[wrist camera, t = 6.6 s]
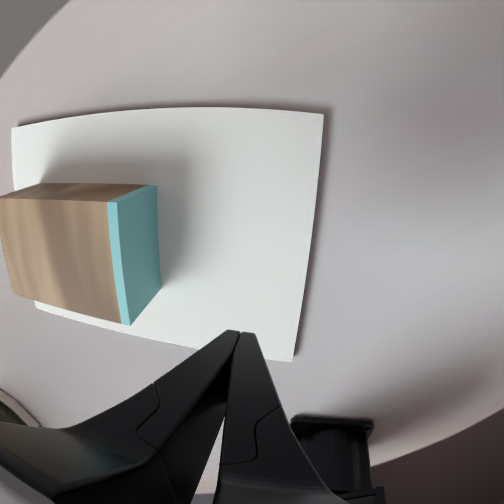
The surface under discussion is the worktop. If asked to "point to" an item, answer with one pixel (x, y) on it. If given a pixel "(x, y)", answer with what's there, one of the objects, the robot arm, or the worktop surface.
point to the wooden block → (83, 247)
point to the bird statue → (14, 412)
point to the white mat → (200, 210)
